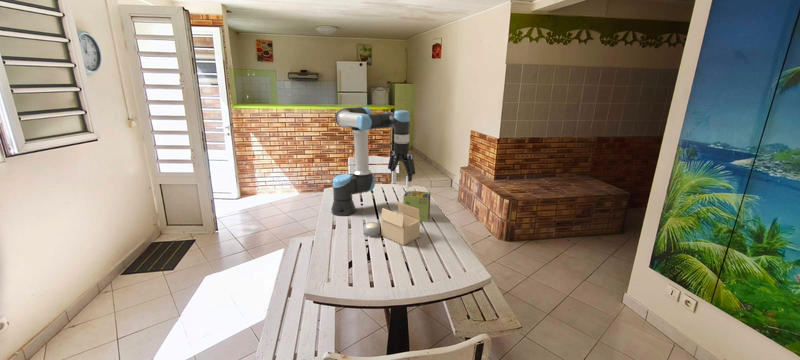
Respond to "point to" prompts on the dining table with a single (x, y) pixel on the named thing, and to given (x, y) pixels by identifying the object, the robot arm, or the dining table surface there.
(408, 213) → the flap far
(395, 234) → the carton
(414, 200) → the protein box
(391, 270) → the dining table surface
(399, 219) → the flap near
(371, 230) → the push tap light
